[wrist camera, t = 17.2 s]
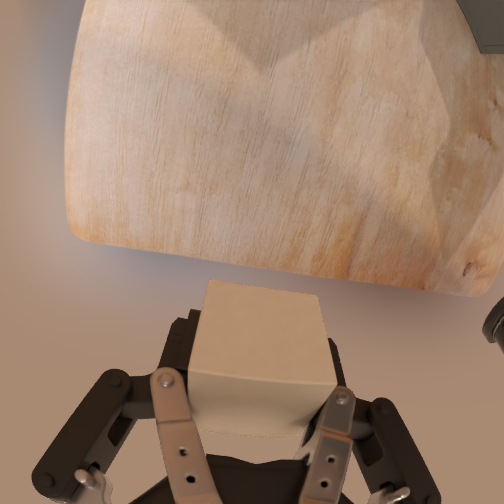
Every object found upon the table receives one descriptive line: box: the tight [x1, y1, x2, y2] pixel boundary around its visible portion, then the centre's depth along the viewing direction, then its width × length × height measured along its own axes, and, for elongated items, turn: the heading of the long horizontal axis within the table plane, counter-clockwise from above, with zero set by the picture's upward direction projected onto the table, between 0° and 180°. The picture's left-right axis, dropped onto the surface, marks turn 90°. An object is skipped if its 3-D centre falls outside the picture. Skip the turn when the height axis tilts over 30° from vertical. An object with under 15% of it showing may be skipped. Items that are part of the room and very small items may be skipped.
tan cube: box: [188, 280, 337, 438], centre depth 12 cm, size 5×5×5 cm
